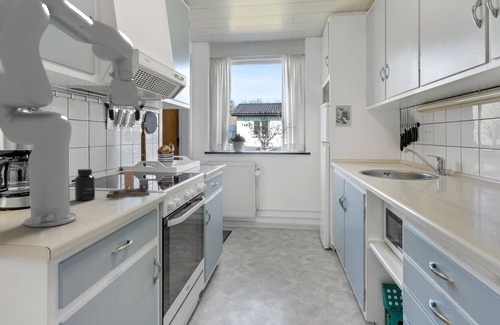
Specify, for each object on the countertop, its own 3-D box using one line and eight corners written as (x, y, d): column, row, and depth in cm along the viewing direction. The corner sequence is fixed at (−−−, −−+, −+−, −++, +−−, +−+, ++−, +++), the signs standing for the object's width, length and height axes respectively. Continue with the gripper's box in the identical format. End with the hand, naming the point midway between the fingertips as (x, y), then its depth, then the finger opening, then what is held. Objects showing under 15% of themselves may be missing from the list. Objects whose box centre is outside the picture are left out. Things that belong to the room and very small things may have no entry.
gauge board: (149, 194, 129) (149, 180, 128) (108, 197, 123) (107, 182, 122) (148, 191, 137) (147, 178, 136) (109, 193, 131) (109, 179, 130)
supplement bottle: (89, 201, 114) (88, 170, 113) (71, 201, 114) (70, 170, 113) (98, 198, 121) (97, 168, 120) (81, 197, 121) (81, 168, 120)
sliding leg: (133, 190, 126) (133, 171, 125) (124, 190, 125) (124, 171, 124) (133, 188, 132) (133, 170, 131) (124, 188, 130) (124, 170, 130)
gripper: (101, 73, 111) (103, 120, 113) (148, 78, 121) (149, 120, 123) (97, 76, 117) (99, 120, 119) (141, 80, 127) (143, 121, 129)
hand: (124, 120), depth 121 cm, fingers open, 9 cm apart
